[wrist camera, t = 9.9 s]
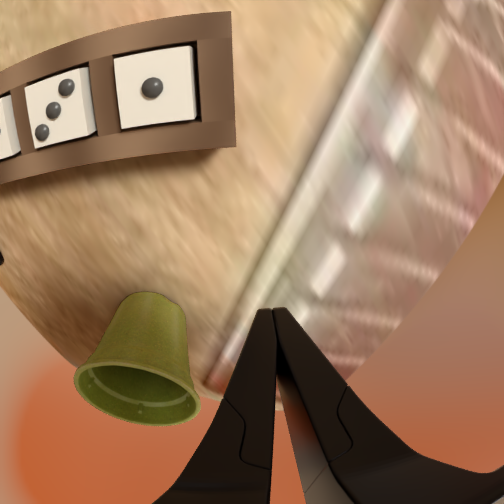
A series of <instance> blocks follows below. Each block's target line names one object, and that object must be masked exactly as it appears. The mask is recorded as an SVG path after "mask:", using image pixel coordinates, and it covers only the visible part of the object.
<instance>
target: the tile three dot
mask: <svg viewBox="0 0 504 504" xmlns="http://www.w3.org/2000/svg"><path fill="white" fill-rule="evenodd" d="M25 95H26V102H27V109H28V115H29V121H30V126H31V131H32V136H33V141H34V146H35V148H39V147H43V146H46V145H50V144H54V143H58V142H62V141H66V140H70V139H74V138H78V137H83V136H87V135H90V134H91V133H93V132H94V131H96V130H97V124H96V117H95V111H94V103H93V96H92V88H91V79H90V69H89V67H86V68H79V69H75V70H72V71H69V72H66V73H63V74H60V75H57V76H54V77H51V78H48V79H46V80H43V81H40V82H38V83H35V84H32V85H30V86H27V87H25Z"/></svg>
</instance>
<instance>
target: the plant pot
mask: <svg viewBox="0 0 504 504" xmlns="http://www.w3.org/2000/svg"><path fill="white" fill-rule="evenodd" d="M74 384H75V387H76V389H77V391H78V392H79V394H80V395H81V396H82V397H83V398H84V399H85V400H86V401H87V402H88V403H90V404H91V405H92V406H94V407H95V408H97V409H98V410H100V411H102V412H104V413H106V414H108V415H110V416H113V417H115V418H118V419H120V420H124V421H127V422H131V423H135V424H141V425H148V426H170V425H178V424H182V423H185V422H187V421H190V420H192V419H193V418H194V417H195V416H196V415H197V414H198V413H199V411H200V409H201V403H200V398H199V396H198V394H197V393H196V391H195V390H194V385H193V381H192V379H191V377H190V370H189V359H188V348H187V334H186V318H185V315H184V313H183V311H182V309H181V308H180V307H179V306H178V305H177V304H174V303H172V302H171V301H169V300H168V299H167V298H165V297H164V296H163V295H161V294H158V293H153V292H138V293H134V294H131V295H129V296H128V297H127V298H126V299H124V300H123V301H122V303H121V304H120V306H119V307H118V309H117V311H116V313H115V315H114V317H113V319H112V320H111V322H110V324H109V326H108V328H107V330H106V332H105V333H104V335H103V337H102V339H101V341H100V343H99V345H98V347H97V348H96V350H95V352H94V353H93V354H92V355H91V356H90V357H89V358H88V360H87V361H86V363H84V364H82V365H81V366H80V367H79V368H78V369H77V370H76V372H75V375H74Z"/></svg>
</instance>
